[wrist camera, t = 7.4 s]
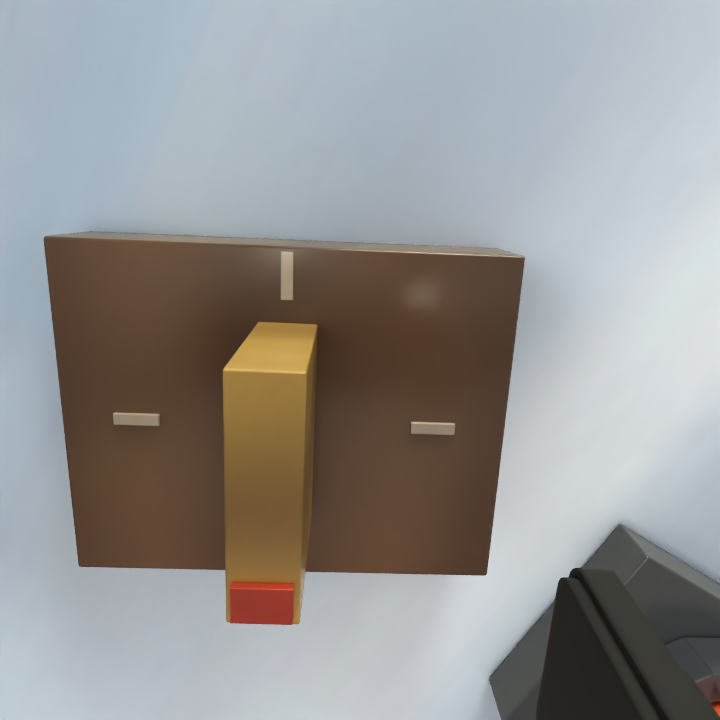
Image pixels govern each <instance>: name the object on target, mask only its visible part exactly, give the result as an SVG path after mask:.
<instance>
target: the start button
mask: <svg viewBox="0 0 720 720" xmlns="http://www.w3.org/2000/svg"><path fill="white" fill-rule="evenodd" d="M710 704H711V705H712V707H713V708H714V709H715V711H716V712H717V714H718V715H719V717H720V701H714V702H712V703H710Z"/></svg>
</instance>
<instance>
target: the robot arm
mask: <svg viewBox="0 0 720 720" xmlns="http://www.w3.org/2000/svg"><path fill="white" fill-rule="evenodd" d="M536 720H720V717H719V715H718V714H717V712H716V711H715V709H714V708H713V707H712V705H711V704H710V702H709V701H708V699H707V698H706V697H705V695H704V694H703V692H702V691H701V689H700V688H699V686H698V685H697V684H696V682H695V681H694V679H693V678H692V677H691V676H690V675H689V674H688V672H687V671H686V670H685V669H683V668H682V667H680V666H679V665H678V664H677V662H676V661H675V659H674V658H673V656H672V655H671V654H670V652H669V651H668V649H667V648H666V646H665V645H664V643H663V642H662V640H661V639H660V637H659V636H658V635H657V633H656V632H655V630H654V629H653V627H652V626H651V624H650V623H649V621H648V620H647V618H646V617H645V616H644V614H643V613H642V611H641V610H640V608H639V607H638V605H637V604H636V602H635V601H634V599H633V598H632V596H631V595H630V594H629V592H628V591H627V589H626V588H625V586H624V585H623V583H622V582H621V580H620V579H619V577H618V576H617V575H616V574H615V573H614V571H612V570H609V569H585V568H575V569H572V571H571V572H570V575H569V578H564V577H563V578H561V579H560V580H559V583H558V587H557V593H556V599H555V604H554V610H553V616H552V622H551V627H550V633H549V639H548V645H547V651H546V656H545V662H544V668H543V674H542V679H541V685H540V691H539V697H538V702H537V708H536Z"/></svg>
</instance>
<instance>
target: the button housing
mask: <svg viewBox="0 0 720 720" xmlns="http://www.w3.org/2000/svg"><path fill="white" fill-rule="evenodd" d="M583 568H585V569H609V570H612V571H614V573H615V574H616V575H617V576H618V577H619V579H620V580H621V582H622V583H623V585H624V586H625V588H626V589H627V591H628V592H629V594H630V595H631V596H632V598H633V599H634V601H635V602H636V604H637V605H638V607H639V608H640V610H641V611H642V613H643V614H644V616H645V617H646V618H647V620H648V621H649V623H650V624H651V626H652V627H653V629H654V630H655V632H656V633H657V635H658V636H659V637H660V639H661V640H662V642H663V643H664V645H665V646H666V648H667V649H668V651H669V652H670V654H671V655H672V656H673V658H674V659H675V661H676V662H677V664H678V665H679V666H680V667H682V668H683V669H685V670H686V671H687V672H688V674H689V675H690V676H691V677H692V678H693V679H694V681H695V682H696V684H697V685H698V686H699V688H700V689H701V691H702V692H703V694H704V695H705V697H706V698H707V699H708V701H709V702H710V703H712V702H714V701H720V584H718V583H717V582H715V581H713V580H712V579H710V578H708V577H707V576H705V575H703V574H702V573H700V572H699V571H697V570H695V569H694V568H692V567H690V566H689V565H687V564H685V563H684V562H682V561H680V560H679V559H677V558H675V557H674V556H672V555H670V554H669V553H667V552H665V551H664V550H662V549H660V548H659V547H657V546H655V545H654V544H652V543H650V542H649V541H647V540H645V539H644V538H642V537H641V536H639V535H637V534H636V533H634V532H632V531H631V530H629V529H627V528H626V527H624V526H622V525H619V526H618V527H617V528H616V529H615V530H614V532H613V533H612V534H611V535H610V536H609V538H608V539H607V540H606V541H605V542H604V543H603V545H602V546H601V547H600V548H599V549H598V551H597V552H596V553H595V554H594V555H593V556H592V558H591V559H590V560H589V561H588V562H587V564H586V565H585V566H584V567H583ZM554 604H555V601H554V603H553V604H552V605H551V606H550V607H549V608H548V610H547V611H546V612H545V613H544V614H543V616H542V617H541V618H540V619H539V620H538V621H537V623H536V624H535V625H534V626H533V627H532V629H531V630H530V631H529V632H528V633H527V634H526V636H525V637H524V638H523V639H522V640H521V642H520V643H519V644H518V645H517V646H516V647H515V649H514V650H513V651H512V652H511V653H510V655H509V656H508V657H507V658H506V659H505V660H504V662H503V663H502V664H501V665H500V666H499V668H498V669H497V670H496V671H495V672H494V673H493V675H492V676H491V677H490V679H489V680H490V684H491V687H492V690H493V694H494V697H495V700H496V704H497V707H498V710H499V714H500V717H501V720H536V708H537V702H538V697H539V691H540V685H541V679H542V674H543V668H544V662H545V656H546V651H547V645H548V639H549V633H550V627H551V622H552V616H553V610H554Z"/></svg>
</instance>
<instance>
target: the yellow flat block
mask: <svg viewBox="0 0 720 720" xmlns="http://www.w3.org/2000/svg"><path fill="white" fill-rule="evenodd" d="M317 336H318V326H317V325H316V324H297V323H275V322H258V323H257V325H256V326H255V327H254V329H253V330H252V331H251V333H250V334H249V335H248V337H247V338H246V339H245V341H244V342H243V343H242V345H241V346H240V347H239V349H238V350H237V351H236V353H235V354H234V355H233V357H232V358H231V359H230V361H229V362H228V363H227V365H226V366H225V367H224V369H223V424H224V495H225V565H226V620H227V622H230V623H244V624H282V625H292V624H299V622H300V615H301V606H302V597H303V588H304V579H305V570H306V561H307V552H308V543H309V534H310V525H311V516H312V488H313V458H314V427H315V397H316V366H317Z"/></svg>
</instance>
